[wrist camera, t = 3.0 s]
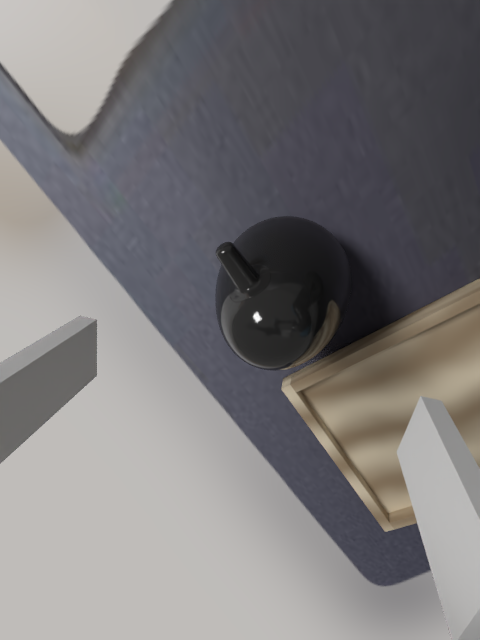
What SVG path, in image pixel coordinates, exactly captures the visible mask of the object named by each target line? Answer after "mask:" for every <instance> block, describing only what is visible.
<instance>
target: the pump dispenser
mask: <svg viewBox="0 0 480 640" xmlns="http://www.w3.org/2000/svg"><path fill="white" fill-rule="evenodd" d="M216 256H217V258H218V259H219V261H220V262H221V264H222V265H221V267H220V270H219V274H218V278H217V283H216V294H215V301H216V314H217V320H218V324H219V327H220V330H221V333H222V335H223V337H224V339H225V341H226V343H227V344H228V346H229V347H230V349H231V350H232V351H233V352H234V353H235V354H236V355H237V356H238V357H239V358H240V359H241V360H243V361H244V362H246V363H248V364H249V365H251V366H254V367H256V368H260V369H264V370H285V369H289V368H293V367H296V366H298V365H300V364H302V363H304V362H306V361H308V360H310V359H311V358H313V357H314V356H315V355H317V354H318V353H319V352H320V351H321V350H322V349H323V348H325V347H326V345H327V344H328V343H329V342H330V341H331V340H332V338H333V337H334V336H335V334H336V333H337V331H338V329H339V328H340V326H341V324H342V322H343V320H344V317H345V315H346V312H347V309H348V305H349V301H350V297H351V290H352V274H351V268H350V264H349V261H348V258H347V255H346V253H345V251H344V249H343V247H342V246H341V244H340V243H339V242H338V240H337V239H336V238H335V237H334V236H333V235H332V234H331V233H330V232H329V231H328V230H326V229H325V228H324V227H322V226H320V225H319V224H317V223H315V222H313V221H310V220H307V219H304V218H299V217H292V216H282V217H274V218H270V219H267V220H264V221H261V222H259V223H257V224H255V225H253V226H252V227H250V228H249V229H247V230H246V231H245V232H243V233H242V234H241V235H240V236H239V237H238V238H237V239H236V240H235V241H234V243H232V242H225V243H223V244H221V245H220V246H219V247H218V248H217V250H216Z"/></svg>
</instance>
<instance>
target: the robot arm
mask: <svg viewBox="0 0 480 640" xmlns="http://www.w3.org/2000/svg"><path fill="white" fill-rule="evenodd" d="M96 375H97V320H96V319H92V318H87V317H83V316H79V317H77V318H75V319H73V320H72V321H70V322H68V323H67V324H65V325H63V326H62V327H60V328H58V329H57V330H55V331H53V332H52V333H50V334H48V335H46V336H45V337H43V338H41V339H40V340H38V341H36V342H35V343H33V344H32V345H30V346H28V347H26V348H24V349H23V350H21V351H20V352H18V353H16V354H14V355H13V356H11V357H9V358H8V359H6V360H4V361H3V362H1V363H0V463H1V462H2V461H4V460H5V459H6V458H7V457H8V456H9V455H10V454H11V453H12V452H14V451H15V450H16V449H17V448H18V447H19V446H20V445H21V444H22V443H23V442H25V441H26V440H27V439H28V438H29V437H30V436H31V435H32V434H33V433H34V432H35V431H37V430H38V429H39V428H40V427H41V426H42V425H43V424H44V423H45V422H46V421H48V420H49V419H50V418H51V417H52V416H53V415H54V414H55V413H56V412H57V411H58V410H60V409H61V408H62V407H63V406H64V405H65V404H66V403H67V402H68V401H69V400H70V399H72V398H73V397H74V396H75V395H76V394H77V393H78V392H79V391H80V390H82V389H83V388H84V387H85V386H86V385H87V384H88V383H89V382H90V381H91V380H93V379H94V378H95V377H96ZM397 455H398V459H399V462H400V466H401V469H402V472H403V476H404V479H405V483H406V486H407V489H408V493H409V496H410V500H411V503H412V507H413V510H414V513H415V517H416V520H417V524H418V527H419V530H420V534H421V537H422V541H423V544H424V547H425V551H426V554H427V558H428V561H429V564H430V568H431V571H432V575H433V578H434V582H435V585H436V588H437V592H438V595H439V598H440V602H441V605H442V609H443V612H444V616H445V619H446V622H447V626H448V629H449V633H450V636H451V639H452V640H480V468H479V467H478V465H477V463H476V461H475V459H474V458H473V456H472V454H471V452H470V450H469V449H468V447H467V445H466V443H465V442H464V440H463V438H462V436H461V434H460V433H459V431H458V429H457V427H456V426H455V424H454V422H453V420H452V418H451V417H450V415H449V413H448V411H447V409H446V408H445V406H444V404H443V402H442V401H440V400H436V399H432V398H428V397H423V396H420V398H419V400H418V403H417V405H416V408H415V410H414V412H413V415H412V417H411V419H410V422H409V424H408V426H407V429H406V431H405V433H404V436H403V438H402V440H401V443H400V445H399V447H398V450H397Z"/></svg>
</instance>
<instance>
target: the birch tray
mask: <svg viewBox="0 0 480 640" xmlns="http://www.w3.org/2000/svg"><path fill="white" fill-rule="evenodd" d="M282 391H283V392H284V393H285V395H286V396H287V397H288V399H289V400H290V402H291V403H292V404H293V406H294V407H295V408H296V410H297V411H298V413H299V414H300V415H301V417H302V418H303V419H304V421H305V422H306V424H307V425H308V426H309V428H310V429H311V430H312V432H313V433H314V435H315V436H316V437H317V439H318V440H319V441H320V443H321V444H322V446H323V447H324V448H325V450H326V451H327V452H328V454H329V455H330V457H331V458H332V459H333V461H334V462H335V463H336V465H337V466H338V468H339V469H340V470H341V472H342V473H343V474H344V476H345V477H346V479H347V480H348V481H349V483H350V484H351V485H352V487H353V488H354V490H355V491H356V492H357V494H358V495H359V496H360V498H361V499H362V501H363V502H364V503H365V505H366V506H367V507H368V509H369V510H370V512H371V513H372V514H373V516H374V517H375V518H376V520H377V521H378V523H379V524H380V525H381V527H382V528H383V529H384V531H385V532H387V531H390V530H394V529H397V528H401V527H404V526H408V525H411V524H415V523H417V520H416V517H415V513H414V510H413V507H412V503H411V500H410V496H409V493H408V489H407V486H406V483H405V479H404V476H403V472H402V469H401V466H400V462H399V459H398V455H397V450H398V447H399V445H400V443H401V440H402V438H403V436H404V433H405V431H406V429H407V426H408V424H409V422H410V419H411V417H412V415H413V412H414V410H415V408H416V405H417V403H418V400H419V398H420V396H423V397H428V398H432V399H436V400H440V401H442V402H443V404H444V406H445V408H446V409H447V411H448V413H449V415H450V417H451V418H452V420H453V422H454V424H455V426H456V427H457V429H458V431H459V433H460V434H461V436H462V438H463V440H464V442H465V443H466V445H467V447H468V449H469V450H470V452H471V454H472V456H473V458H474V459H475V461H476V463H477V465H478V467H479V468H480V278H479V279H477V280H476V281H474V282H472V283H470V284H468V285H466V286H464V287H462V288H460V289H458V290H456V291H454V292H452V293H450V294H448V295H446V296H444V297H442V298H440V299H438V300H436V301H434V302H432V303H430V304H428V305H426V306H424V307H423V308H421V309H419V310H417V311H415V312H413V313H411V314H409V315H407V316H405V317H403V318H401V319H399V320H397V321H395V322H393V323H391V324H389V325H387V326H385V327H383V328H381V329H379V330H377V331H375V332H373V333H371V334H370V335H368V336H366V337H364V338H362V339H360V340H358V341H356V342H354V343H352V344H350V345H348V346H346V347H344V348H342V349H340V350H338V351H336V352H334V353H332V354H330V355H328V356H326V357H324V358H322V359H320V360H318V361H317V362H315V363H313V364H311V365H309V366H307V367H305V368H303V369H301V370H299V371H297V372H295V373H293V374H291V375H289V376H287V377H285V378H283V383H282Z"/></svg>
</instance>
